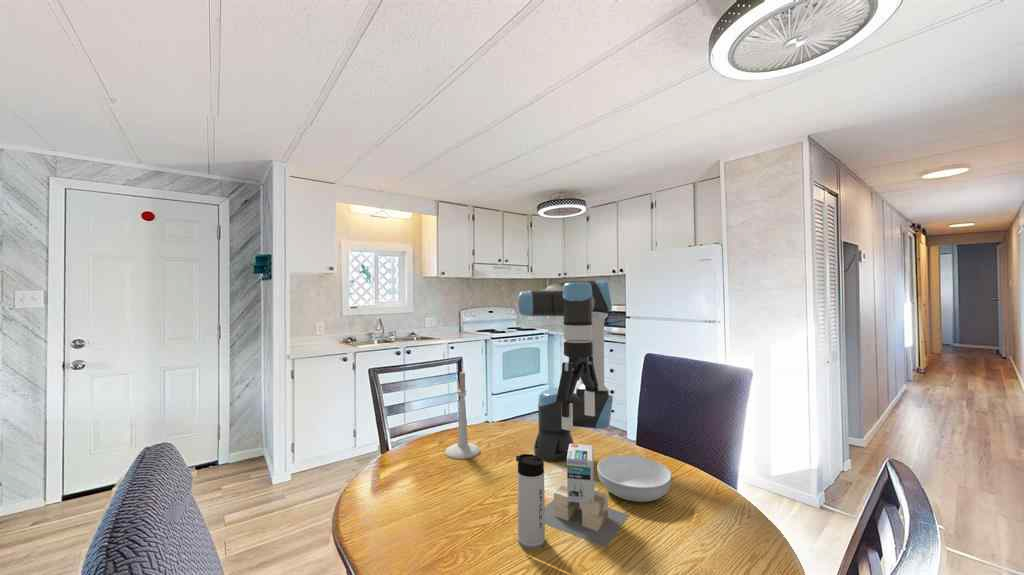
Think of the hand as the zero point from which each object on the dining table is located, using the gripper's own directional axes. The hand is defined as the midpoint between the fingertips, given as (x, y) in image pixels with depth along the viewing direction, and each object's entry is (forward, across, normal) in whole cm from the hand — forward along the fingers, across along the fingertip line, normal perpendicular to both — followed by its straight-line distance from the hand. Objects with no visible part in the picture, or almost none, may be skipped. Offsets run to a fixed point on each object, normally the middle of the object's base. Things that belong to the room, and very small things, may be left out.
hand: (579, 422), depth 102 cm
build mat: (+25, 0, 0) cm, 25 cm away
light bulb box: (+18, 0, 0) cm, 19 cm away
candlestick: (+25, -15, -55) cm, 62 cm away
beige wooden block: (+24, 0, -4) cm, 25 cm away
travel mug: (+25, +16, -5) cm, 30 cm away
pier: (+24, 0, +4) cm, 25 cm away
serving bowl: (+25, -21, +7) cm, 33 cm away
